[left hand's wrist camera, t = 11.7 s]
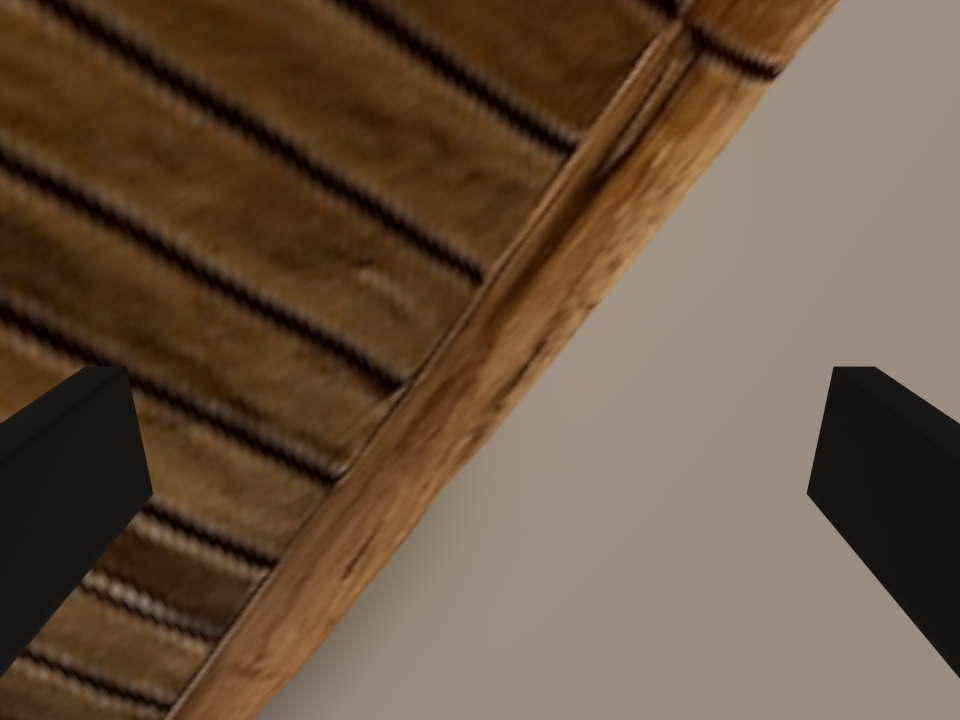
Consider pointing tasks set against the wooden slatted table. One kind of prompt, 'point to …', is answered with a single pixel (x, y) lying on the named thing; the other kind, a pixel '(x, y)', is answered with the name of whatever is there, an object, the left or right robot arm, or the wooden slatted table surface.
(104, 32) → the wooden slatted table surface
